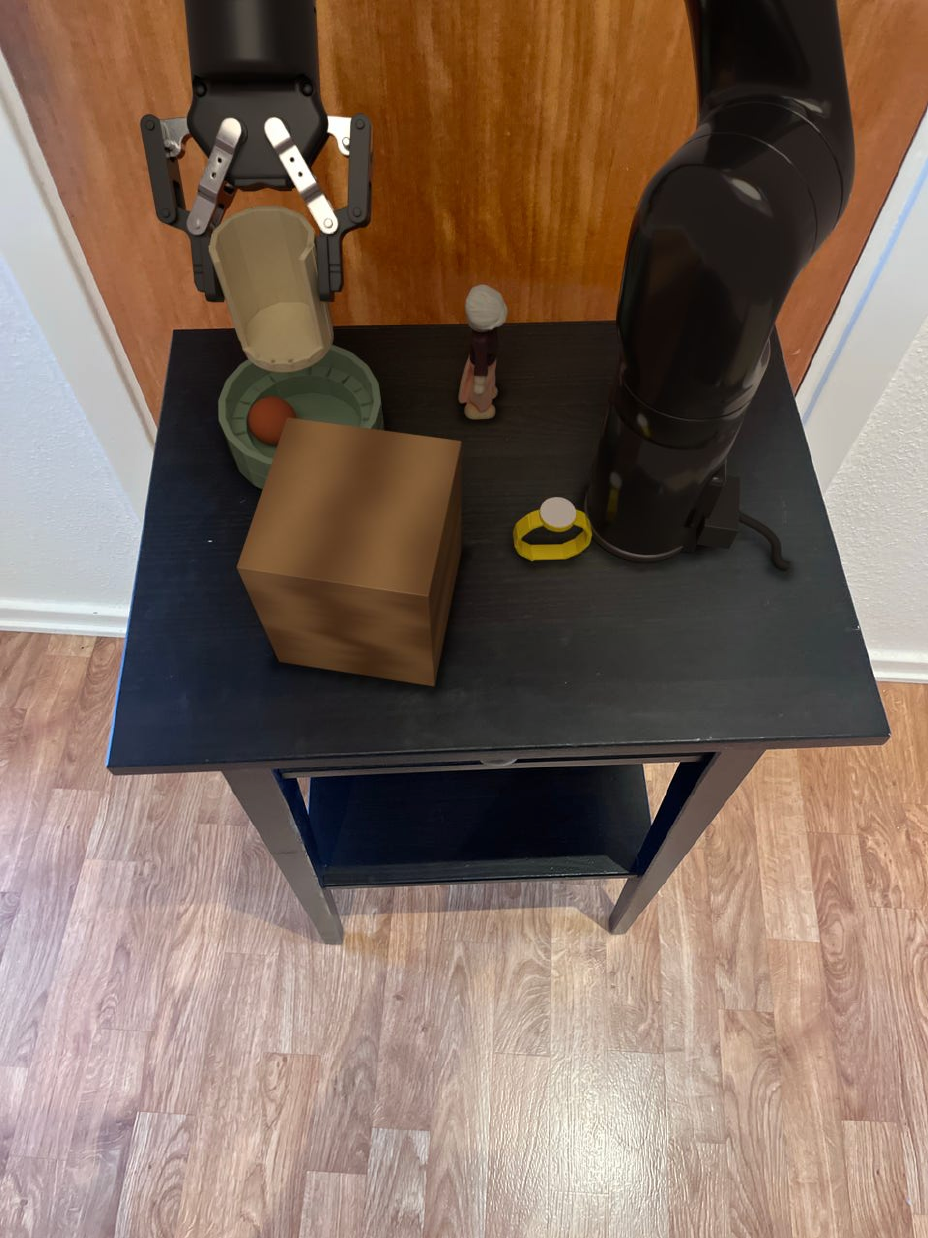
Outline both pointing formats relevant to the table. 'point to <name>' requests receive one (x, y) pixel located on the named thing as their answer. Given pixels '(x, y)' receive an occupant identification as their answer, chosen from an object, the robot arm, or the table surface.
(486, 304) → the grandmother figurine
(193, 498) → the table surface
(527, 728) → the table surface
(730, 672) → the table surface
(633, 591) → the table surface
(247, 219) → the cup
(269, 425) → the ball
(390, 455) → the stand
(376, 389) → the bowl
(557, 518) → the watch
